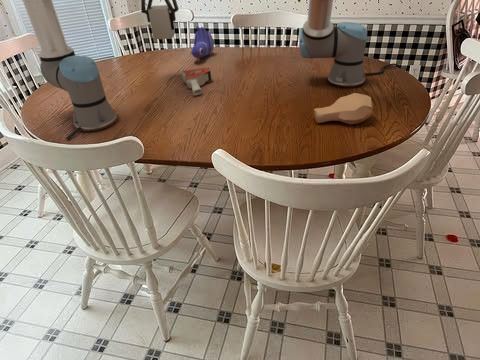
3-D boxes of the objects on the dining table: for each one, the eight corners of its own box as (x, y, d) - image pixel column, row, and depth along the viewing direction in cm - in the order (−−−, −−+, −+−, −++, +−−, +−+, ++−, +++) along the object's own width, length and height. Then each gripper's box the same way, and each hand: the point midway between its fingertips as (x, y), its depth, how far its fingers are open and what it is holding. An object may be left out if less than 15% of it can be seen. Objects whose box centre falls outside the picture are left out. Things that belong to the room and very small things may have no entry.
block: (174, 33, 162) (170, 4, 155) (172, 38, 155) (167, 8, 148) (157, 34, 162) (152, 5, 155) (153, 39, 155) (148, 9, 148)
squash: (377, 125, 120) (379, 103, 114) (317, 135, 122) (317, 114, 116) (367, 107, 128) (369, 85, 121) (311, 116, 130) (311, 95, 123)
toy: (200, 58, 202) (185, 64, 180) (197, 26, 195) (181, 28, 173) (217, 58, 200) (204, 63, 177) (214, 25, 193) (200, 26, 171)
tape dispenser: (197, 100, 148) (224, 81, 161) (196, 88, 145) (223, 70, 157) (165, 91, 156) (193, 74, 168) (163, 80, 152) (192, 63, 165)
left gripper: (180, -33, 146) (188, 26, 159) (130, -30, 146) (141, 28, 160) (178, -31, 140) (186, 30, 153) (125, -28, 140) (137, 32, 153)
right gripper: (344, -57, 154) (339, -3, 167) (287, -53, 155) (286, 0, 168) (348, -56, 148) (342, 0, 161) (289, -52, 149) (287, 3, 162)
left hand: (163, 29), depth 156 cm, fingers closed on block, 8 cm apart
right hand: (313, 0), depth 164 cm, fingers open, 13 cm apart
